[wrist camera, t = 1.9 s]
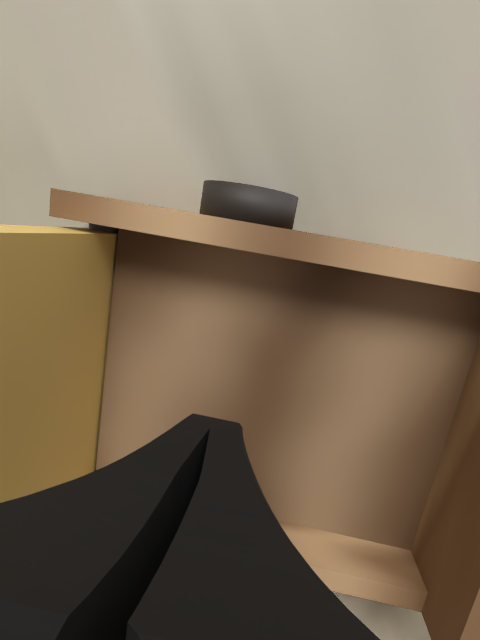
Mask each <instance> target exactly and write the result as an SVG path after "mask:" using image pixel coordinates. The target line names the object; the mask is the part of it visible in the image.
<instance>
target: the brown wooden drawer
mask: <svg viewBox="0 0 480 640" xmlns="http://www.w3.org/2000/svg"><path fill="white" fill-rule="evenodd" d="M297 202H298V197H296V196H294V195H291V194H288V193H285V192H281V191H277V190H273V189H268V188H263V187H258V186H253V185H247V184H241V183H234V182H226V181H214V180H207V181H204V185H203V192H202V199H201V207H200V214H197V213H192V212H186V211H180V210H174V209H168V208H163V207H157V206H151V205H145V204H139V203H134V202H128V201H122V200H116V199H111V198H105V197H99V196H93V195H87V194H82V193H76V192H70V191H64V190H58V189H53V188H51V195H50V213H49V216H53V217H58V218H64V219H69V220H75V221H81V222H86V223H92V224H97V225H103V226H109V227H114V228H119V231H118V242H117V252H116V263H115V273H114V284H113V295H112V305H111V316H110V326H109V337H108V347H107V358H106V368H105V379H104V390H103V400H102V411H101V421H100V432H99V442H98V453H97V464H96V470H98V469H100V468H103V467H105V466H107V465H109V464H111V463H113V462H115V461H117V460H119V459H121V458H123V457H125V456H127V455H128V454H130V453H132V452H134V451H135V450H137V449H139V448H141V447H143V446H144V445H146V444H148V443H149V442H151V441H152V440H154V439H155V438H157V437H158V436H160V435H162V434H163V433H165V432H166V431H167V430H169V429H170V428H172V427H173V426H175V425H176V424H178V423H179V422H180V421H182V420H183V419H185V418H186V417H188V416H189V415H191V414H193V413H194V414H199V415H204V416H209V417H213V418H218V419H223V420H228V421H232V422H237V423H240V425H241V426H242V428H243V438H244V443H245V447H246V451H247V454H248V457H249V460H250V463H251V466H252V468H253V471H254V474H255V476H256V479H257V481H258V483H259V486H260V488H261V490H262V492H263V494H264V496H265V498H266V500H267V502H268V504H269V506H270V508H271V510H272V512H273V513H274V515H275V517H276V518H277V520H278V522H279V524H280V525H281V527H282V528H283V530H284V532H285V533H286V535H287V536H288V538H289V539H290V541H291V542H292V543H293V545H294V546H295V547H296V549H297V550H298V551H299V553H300V554H301V555H302V557H303V558H304V559H305V561H306V562H307V563H308V564H309V566H310V567H311V568H312V570H313V571H314V572H315V573H316V574H317V576H318V577H319V578H320V579H321V580H322V581H323V582H324V583H325V585H326V586H327V587H328V588H329V589H330V590H331V591H335V592H339V593H343V594H347V595H351V596H356V597H360V598H364V599H368V600H373V601H377V602H381V603H385V604H390V605H394V606H398V607H402V608H406V609H411V610H415V611H419V612H422V615H423V618H424V620H425V623H426V626H427V629H428V631H429V634H430V637H431V640H480V262H475V261H469V260H463V259H458V258H452V257H446V256H440V255H435V254H429V253H423V252H417V251H411V250H406V249H400V248H394V247H388V246H382V245H377V244H371V243H365V242H359V241H354V240H348V239H342V238H336V237H330V236H325V235H319V234H313V233H307V232H301V231H296V230H292V228H293V223H294V218H295V212H296V207H297ZM96 470H95V471H96Z"/></svg>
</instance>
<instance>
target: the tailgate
mask: <svg viewBox="0 0 480 640" xmlns="http://www.w3.org/2000/svg"><path fill="white" fill-rule="evenodd" d="M118 231H119V228H114V227H109V226H103V225H97V224H92V223H89V228H74V227H47V226H20V225H0V503H2V502H5V501H9V500H13V499H16V498H20V497H23V496H27V495H30V494H33V493H36V492H39V491H42V490H45V489H48V488H51V487H54V486H57V485H60V484H62V483H65V482H68V481H71V480H74V479H77V478H79V477H82V476H84V475H86V474H89V473H91V472H93V471H95V470H96V464H97V453H98V442H99V432H100V421H101V411H102V400H103V390H104V379H105V368H106V358H107V347H108V337H109V326H110V316H111V305H112V295H113V284H114V273H115V263H116V252H117V242H118Z"/></svg>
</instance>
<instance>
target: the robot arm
mask: <svg viewBox="0 0 480 640" xmlns="http://www.w3.org/2000/svg"><path fill="white" fill-rule="evenodd" d="M0 640H380V639H379V638H378V637H377V636H376V635H375V634H374V633H373V632H371V631H370V630H369V629H368V628H367V627H366V626H365V625H364V624H363V623H362V622H361V621H360V620H359V619H358V618H357V617H356V616H355V615H354V614H353V613H352V612H351V611H349V610H348V609H347V608H346V606H345V605H344V604H343V603H342V602H341V601H340V600H339V599H338V598H337V597H336V596H335V595H334V593H333V592H332V591H331V590H330V589H329V588H328V587H327V586H326V585H325V583H324V582H323V581H322V580H321V579H320V578H319V577H318V576H317V574H316V573H315V572H314V571H313V570H312V568H311V567H310V566H309V564H308V563H307V562H306V561H305V559H304V558H303V557H302V555H301V554H300V553H299V551H298V550H297V549H296V547H295V546H294V545H293V543H292V542H291V541H290V539H289V538H288V536H287V535H286V533H285V532H284V530H283V528H282V527H281V525H280V524H279V522H278V520H277V518H276V517H275V515H274V513H273V512H272V510H271V508H270V506H269V504H268V502H267V500H266V498H265V496H264V494H263V492H262V490H261V488H260V486H259V483H258V481H257V479H256V476H255V474H254V471H253V468H252V466H251V463H250V460H249V457H248V454H247V451H246V447H245V443H244V438H243V428H242V426H241V425H240V423H237V422H232V421H228V420H223V419H218V418H213V417H209V416H204V415H199V414H194V413H193V414H191V415H189V416H188V417H186V418H185V419H183V420H182V421H180V422H179V423H178V424H176V425H175V426H173V427H172V428H170V429H169V430H167V431H166V432H165V433H163V434H162V435H160V436H158V437H157V438H155V439H154V440H152V441H151V442H149V443H148V444H146V445H144V446H143V447H141V448H139V449H137V450H135V451H134V452H132V453H130V454H128V455H127V456H125V457H123V458H121V459H119V460H117V461H115V462H113V463H111V464H109V465H107V466H105V467H103V468H100V469H98V470H96V471H93V472H91V473H89V474H86V475H84V476H82V477H79V478H77V479H74V480H71V481H68V482H65V483H62V484H60V485H57V486H54V487H51V488H48V489H45V490H42V491H39V492H36V493H33V494H30V495H27V496H23V497H20V498H16V499H13V500H9V501H5V502H2V503H0Z"/></svg>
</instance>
